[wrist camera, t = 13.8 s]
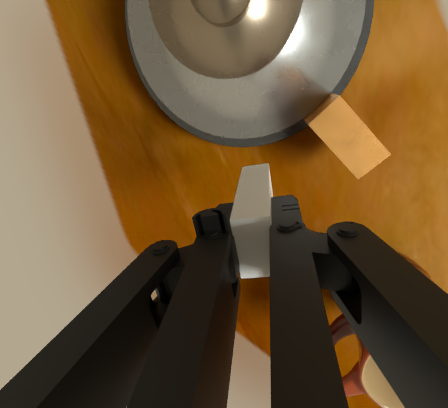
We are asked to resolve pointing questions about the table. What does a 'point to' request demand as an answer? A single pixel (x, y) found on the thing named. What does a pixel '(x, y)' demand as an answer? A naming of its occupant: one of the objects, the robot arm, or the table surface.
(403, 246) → the table surface
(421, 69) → the table surface
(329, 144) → the turntable
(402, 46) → the table surface
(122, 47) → the table surface
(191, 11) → the cover
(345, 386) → the mug
